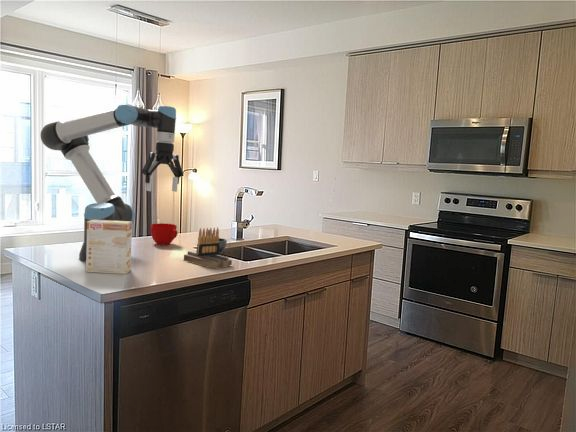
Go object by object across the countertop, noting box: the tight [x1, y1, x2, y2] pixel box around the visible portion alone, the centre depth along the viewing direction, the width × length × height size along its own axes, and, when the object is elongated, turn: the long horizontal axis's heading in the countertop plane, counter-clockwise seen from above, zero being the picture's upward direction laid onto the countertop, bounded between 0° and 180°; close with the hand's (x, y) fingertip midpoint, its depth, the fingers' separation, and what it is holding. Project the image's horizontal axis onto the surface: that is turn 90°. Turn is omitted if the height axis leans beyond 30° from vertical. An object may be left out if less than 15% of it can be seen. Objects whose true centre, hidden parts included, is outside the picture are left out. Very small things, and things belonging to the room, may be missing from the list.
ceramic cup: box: [150, 222, 178, 246], centre depth 240 cm, size 13×17×10 cm
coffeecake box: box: [85, 219, 133, 275], centre depth 177 cm, size 15×7×20 cm, turn 92°
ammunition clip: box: [196, 226, 220, 256], centre depth 203 cm, size 11×2×12 cm, turn 133°
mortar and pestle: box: [208, 229, 228, 256], centre depth 225 cm, size 11×9×12 cm
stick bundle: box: [183, 250, 233, 270], centre depth 204 cm, size 10×20×4 cm, turn 51°
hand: (161, 191), depth 204 cm, fingers open, 13 cm apart
